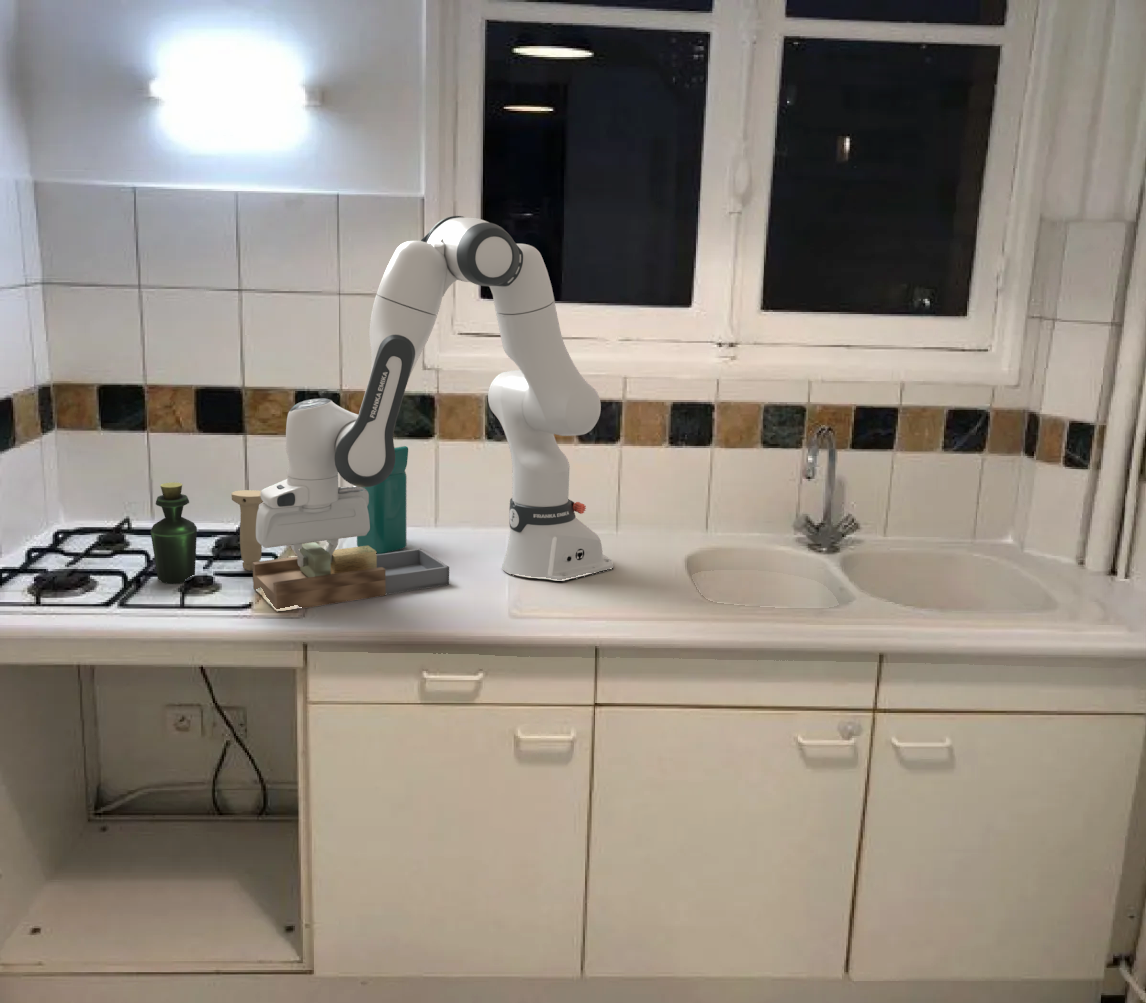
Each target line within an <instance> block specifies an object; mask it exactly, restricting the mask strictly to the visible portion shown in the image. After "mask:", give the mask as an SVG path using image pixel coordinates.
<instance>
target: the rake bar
mask: <svg viewBox="0 0 1146 1003" xmlns="http://www.w3.org/2000/svg"><path fill="white" fill-rule="evenodd" d="M299 551H300V552H301V554H302V555H306V556H307V557H308V566H304V567H300V571H302V572H303V573H304V574H305V575H306V576H307V577H315V576H323V575H330V574H331V562H330V553H328V552H327V551H326V549H325V548H324V547H322V546H320V544H319V543H317V542H310V543H302V549H299Z"/></svg>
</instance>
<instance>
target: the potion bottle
mask: <svg viewBox="0 0 1146 1003" xmlns="http://www.w3.org/2000/svg"><path fill="white" fill-rule="evenodd" d="M159 486H160V490H161V493H162V495H159V496H157V498H156V500H155V505H156V506H158V507H161V509H162V512H163V515H164V517H163V518H162V519H161V520H159V521H157V522H155V523H154V524H153V525H152V527H151V529H150V538H151V543H152V550H153V557H154V561H155V562H154V563H155V568H156V576H157V580H158V581H159V582H161V583H163V584H171V585H174V584H175V585H176V584H177V585H178V584H183V582H184V581H185V579H187V578H188V577H190V576H192V575H195V576H196V561H197V560H196V559H197V558H196V557H197V536H198V535H197V534H198V530H197V529H198V526H196V524H195V522H193V521H191V520H189V519H187V518H185V517H182V515H183V510H184V507H185V506H186V505H188V504H190V500H189V497H188V496H187V495H186V494H183V493H182V489H183V483H181V482H175V481H174V482H165V483H161V484H160V485H159Z"/></svg>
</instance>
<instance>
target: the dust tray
mask: <svg viewBox="0 0 1146 1003" xmlns="http://www.w3.org/2000/svg"><path fill="white" fill-rule="evenodd" d="M376 558H377V568H379V567H383V568H384V569H385V586H386V595H392V594H397V593H405V592H411V591H417V590H423V589H429V588H430V589H431V588H436V587H437V588H438V587H443V586H449V585H450V566H448V565H447V564H446V563H444V562H442V561H441V560H439V559H437V558H436V557H435V556H433V555H431V554H430V553H429V552H427V551H425V550H423V549H422V548H416V549H407V550H401V551H399V550H398V551H392V552H388V553H384V554H376Z"/></svg>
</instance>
